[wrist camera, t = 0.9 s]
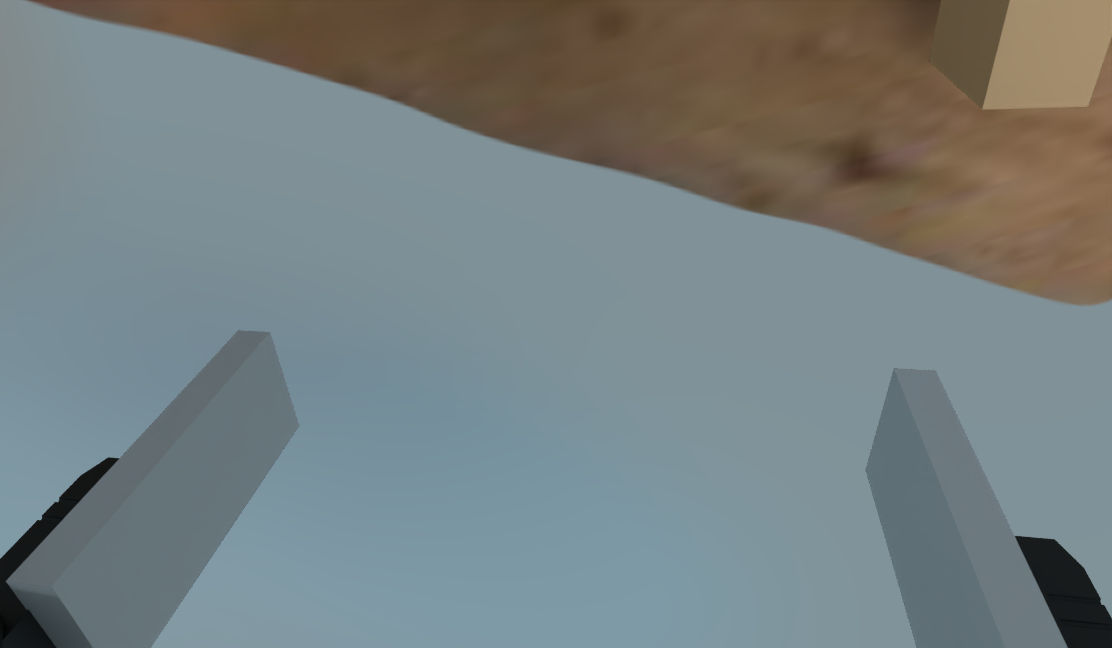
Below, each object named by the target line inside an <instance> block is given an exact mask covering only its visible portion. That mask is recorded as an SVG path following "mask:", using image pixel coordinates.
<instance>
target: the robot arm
mask: <svg viewBox="0 0 1112 648" xmlns="http://www.w3.org/2000/svg"><path fill="white" fill-rule="evenodd" d="M298 427H299V423H298V420H297V417H296V414H295V410H294V407H293V404H292V401H291V398H290V395H289V391H288V388H287V385H286V382H285V378H284V375H283V372H282V369H281V366H280V362H279V359H278V356H277V353H276V350H275V346H274V343H273V340H272V337H271V334H270V332H257V331H237V332H236V333H235V334H234V336H233V337H232V338H231V339H230V340H229V341H228V342H227V343H226V344H225V345H224V346H223V347H222V349H221V350H220V351H219V352H218V353H217V354H216V355H215V356H214V357H213V358H212V359H211V360H210V362H209V363H208V364H207V365H206V366H205V367H204V368H203V369H202V370H201V371H200V372H199V373H198V375H196V377H195V378H194V379H193V380H192V381H191V382H190V383H189V384H188V385H187V386H186V387H185V389H184V390H183V391H182V392H181V393H180V394H179V395H178V396H177V397H176V398H175V399H174V400H173V401H172V402H171V404H170V405H169V406H168V407H167V408H166V409H165V410H164V411H163V412H162V413H161V414H160V416H159V417H158V418H157V419H156V420H155V421H154V422H153V423H152V424H151V425H150V426H149V427H148V428H147V429H146V431H145V432H144V433H143V434H142V435H141V436H140V437H139V438H138V439H137V440H136V441H135V442H134V444H133V445H132V446H131V447H130V448H129V449H128V450H127V451H126V452H125V453H124V454H123V456H121V458H107V459H105V460H104V461H102V462H101V463H100V464H98V465H96V466H95V467H93V468H92V469H90V470H89V471H87V472H86V473H84V474H82V475H81V476H80V477H79V478H78V479H77V480H76V481H75V482H74V483H73V484H72V485H71V486H70V487H69V488H68V489H67V490H66V491H65V492H64V493H63V494H62V495H61V497H59V502H55V503H54V504H53V505H52V506H51V507H50V508H49V509H48V510H47V511H46V512H45V513H44V514H43V515H42V520H37V521H36V522H35V524H34V525H33V526H32V527H31V528H30V529H29V530H28V531H27V532H26V533H25V534H24V535H23V536H22V537H21V538H20V539H19V540H18V541H17V542H16V543H15V544H14V545H13V546H12V547H11V549H10V550H8V552H6V554H5V555H4V556H3V557H2V558H1V559H0V648H151V647H152V645H153V644H154V642H155V641H156V639H157V638H158V636H159V635H160V633H161V632H162V630H163V629H164V627H165V626H166V624H167V623H168V621H169V620H170V618H171V617H172V615H173V614H174V612H175V611H176V609H177V608H178V606H179V605H180V603H181V602H182V601H183V599H184V597H185V596H186V595H187V593H188V592H189V590H190V589H191V587H192V586H193V584H194V583H195V581H196V579H197V578H198V577H199V575H200V574H201V572H202V570H203V569H204V567H205V566H206V565H207V563H208V562H209V560H210V559H211V557H212V555H213V554H214V553H215V551H216V550H217V548H218V547H219V545H220V544H221V542H222V541H223V539H224V538H225V536H226V535H227V533H228V532H229V530H230V529H231V527H232V526H233V524H234V523H235V521H236V520H237V518H238V517H239V515H240V514H241V512H242V511H243V509H244V508H245V506H246V505H247V503H248V502H249V500H250V499H251V497H252V496H253V494H254V493H255V491H256V490H257V488H258V487H259V485H260V484H261V482H262V481H263V479H264V478H265V476H266V475H267V473H268V472H269V470H270V469H271V467H272V466H273V464H274V463H275V461H276V460H277V458H278V457H279V455H280V454H281V452H282V450H283V449H284V448H285V446H286V445H287V443H288V442H289V440H290V439H291V438H292V436H293V435H294V433H295V432H296V430H297V428H298ZM866 473H867V477H868V480H869V484H870V487H871V491H872V494H873V498H874V501H875V504H876V508H877V511H878V515H879V518H880V522H881V525H882V529H883V532H884V536H885V539H886V543H887V546H888V550H889V553H890V557H891V560H892V564H893V567H894V570H895V574H896V578H897V581H898V584H899V588H900V591H901V595H902V598H903V602H904V605H905V609H906V612H907V616H908V619H909V622H910V626H911V630H912V633H913V637H914V640H915V644H916V647H917V648H1112V619H1111V617H1110V615H1109V613H1108V611H1107V610H1106V607H1105V606H1104V605H1101V602H1100V600H1101V599H1100V597H1099V595H1098V593H1097V591H1096V589H1095V588H1094V586H1093V584H1092V582H1091V580H1090V578H1089V577H1088V575H1087V573H1086V571H1085V569H1084V568H1083V567H1082V566H1081V565H1080V564H1079V563H1078V562H1077V561H1076V560H1075V559H1074V558H1073V557H1072V556H1071V555H1070V554H1069V553H1068V552H1067V551H1066V550H1065V549H1064V548H1063V547H1062V546H1061V545H1060V544H1059V543H1058V542H1057V541H1056V540H1054V539H1043V538H1032V537H1022V536H1014V534H1013V532H1012V530H1011V528H1010V526H1009V524H1008V521H1007V519H1006V518H1005V515H1004V513H1003V511H1002V509H1001V507H1000V505H999V502H998V500H997V498H996V496H995V494H994V492H993V490H992V488H991V486H990V484H989V482H988V479H987V477H986V475H985V473H984V471H983V469H982V467H981V465H980V463H979V460H978V459H977V456H976V454H975V452H974V450H973V448H972V446H971V444H970V442H969V440H968V437H967V435H966V433H965V431H964V429H963V427H962V425H961V423H960V421H959V419H958V416H957V414H956V412H955V410H954V408H953V406H952V404H951V402H950V400H949V397H948V396H947V393H946V391H945V389H944V387H943V385H942V383H941V381H940V379H939V376H938V374H937V372H936V371H932V370H914V369H898V368H894V370H893V374H892V377H891V381H890V385H889V388H888V392H887V395H886V399H885V402H884V406H883V410H882V413H881V417H880V420H879V424H878V427H877V431H876V435H875V438H874V442H873V445H872V449H871V452H870V456H869V459H868V463H867V467H866Z"/></svg>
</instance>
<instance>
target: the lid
mask: <svg viewBox="0 0 1112 648" xmlns="http://www.w3.org/2000/svg"><path fill="white" fill-rule="evenodd" d="M1111 37H1112V0H941V3H940V8H939V13H938V18H937V22H936V27H935V32H934V37H933V42H932V47H931V52H930V57H929V62H931V63H932V64H933V65H934V66H935V67H936V68H937V69H938V70H939V71H940V72H942V73H943V74H944V75H945V76H946V77H947V78H948V79H949V80H950V81H951V82H953V83H954V84H955V85H956V86H957V87H958V88H959V89H960V90H961V91H962V92H964V93H965V94H966V95H967V96H968V97H969V98H970V99H971V100H972V101H973V102H974V103H976V104H977V105H978V106H979V107H980V108H981V109H982V110H984V109H1018V108H1053V107H1087V106H1088V105H1089V102H1090V99H1091V96H1092V93H1093V90H1094V87H1095V84H1096V81H1097V78H1098V75H1099V72H1100V69H1101V66H1102V64H1103V61H1104V58H1105V55H1106V52H1107V49H1108V46H1109V43H1110V40H1111Z"/></svg>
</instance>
